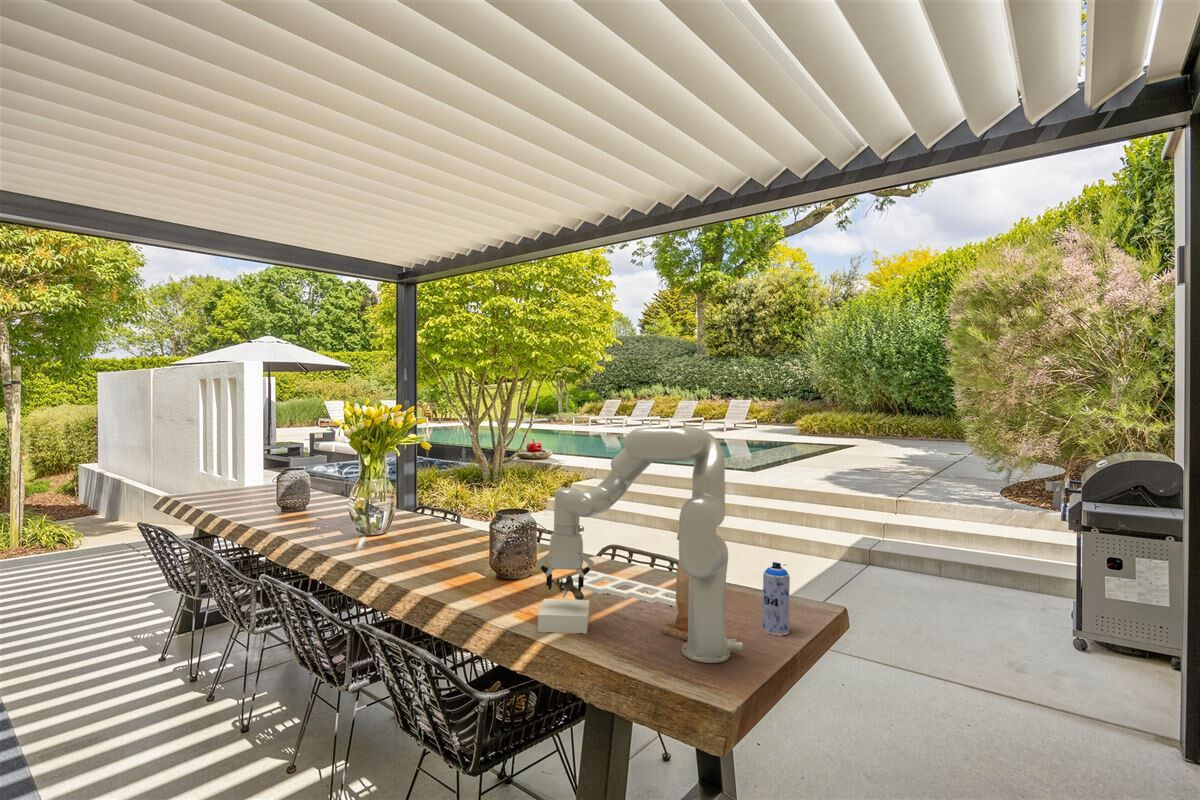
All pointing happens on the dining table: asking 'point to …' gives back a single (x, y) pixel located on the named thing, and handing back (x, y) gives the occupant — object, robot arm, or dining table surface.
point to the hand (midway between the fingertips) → (564, 588)
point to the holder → (635, 592)
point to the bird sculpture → (680, 606)
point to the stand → (563, 616)
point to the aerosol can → (776, 599)
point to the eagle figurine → (569, 588)
